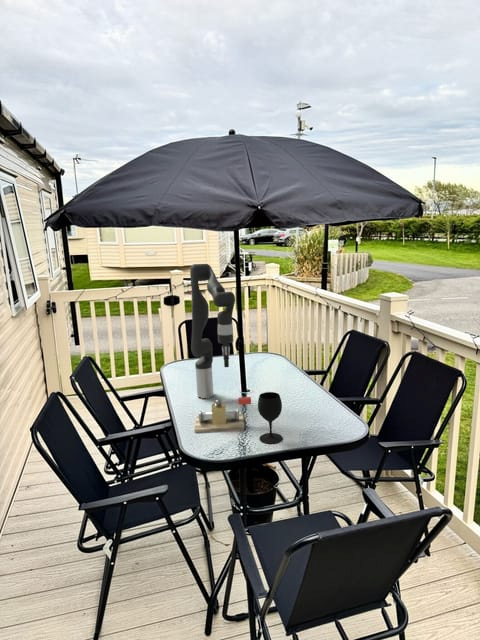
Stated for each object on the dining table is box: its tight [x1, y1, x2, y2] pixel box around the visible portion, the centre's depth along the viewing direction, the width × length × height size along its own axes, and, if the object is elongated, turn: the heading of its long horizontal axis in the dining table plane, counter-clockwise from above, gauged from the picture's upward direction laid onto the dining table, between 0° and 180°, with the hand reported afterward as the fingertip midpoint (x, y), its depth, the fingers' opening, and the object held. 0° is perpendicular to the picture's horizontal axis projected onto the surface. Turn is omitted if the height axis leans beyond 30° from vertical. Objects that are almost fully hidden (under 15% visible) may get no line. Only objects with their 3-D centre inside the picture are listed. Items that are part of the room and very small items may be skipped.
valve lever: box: [214, 396, 252, 406], centre depth 203 cm, size 17×3×3 cm, turn 93°
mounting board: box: [193, 413, 245, 433], centre depth 205 cm, size 15×23×2 cm, turn 91°
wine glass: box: [257, 391, 284, 445], centre depth 186 cm, size 10×10×20 cm
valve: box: [198, 402, 240, 425], centre depth 204 cm, size 6×19×8 cm, turn 91°
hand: (226, 366), depth 211 cm, fingers closed
